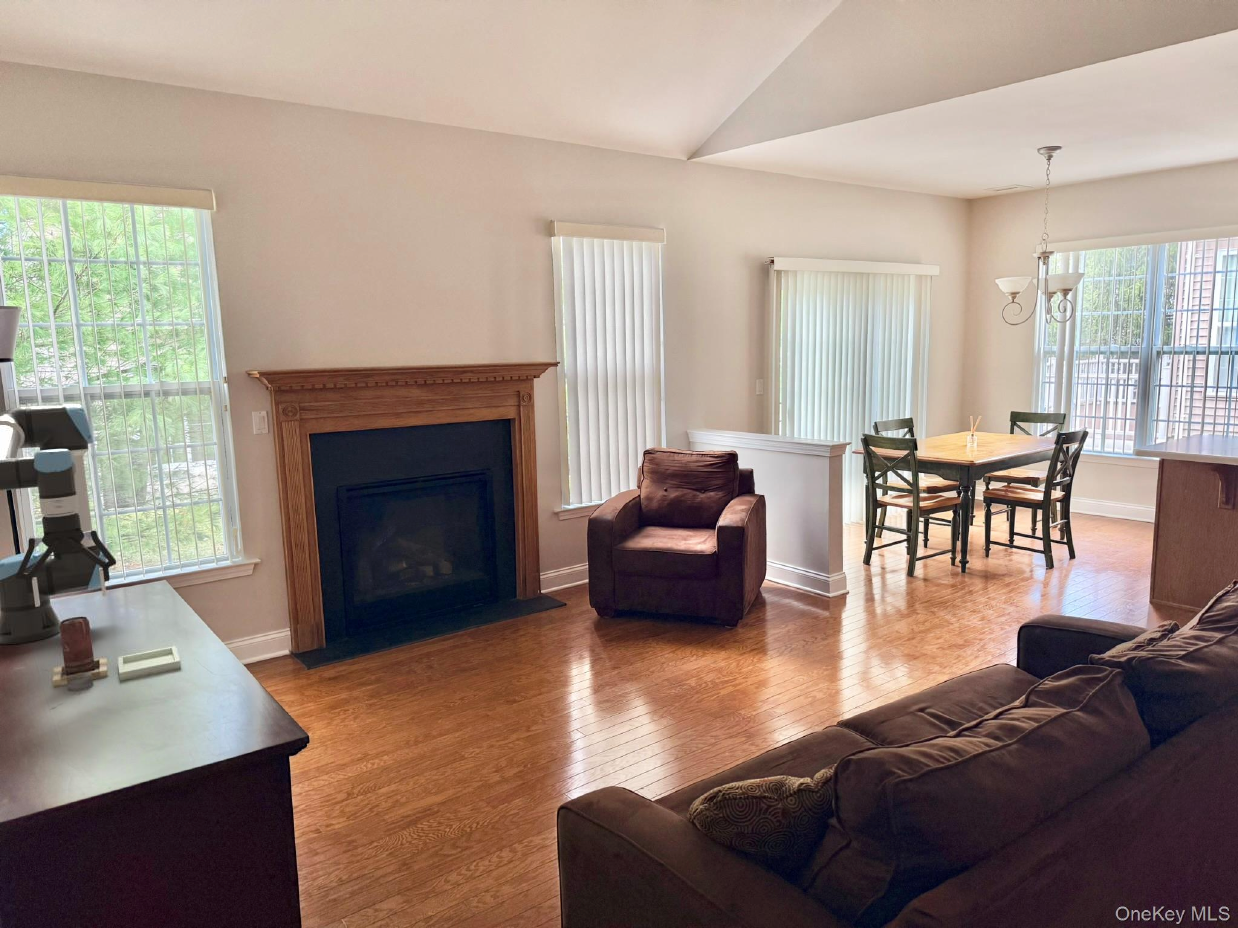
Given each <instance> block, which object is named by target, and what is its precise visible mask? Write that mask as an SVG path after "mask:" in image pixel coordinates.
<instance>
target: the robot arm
mask: <svg viewBox="0 0 1238 928" xmlns="http://www.w3.org/2000/svg"><path fill="white" fill-rule="evenodd" d="M92 443H94V439H93V434H92V431H91V427H90V423H89V420H88V416H87V413H86V411H85V408H84V407H83V405H82V404H77V403H62V404H60V403H59V404H47V405H46V404H45V405H34V406H33V405H32V406H31V405H30V406H28V405H27V406H26V405H25V406H16V407H12V408H9V409H7V410H4V411H2V412H0V492H2V491H10V490H20V489H29V488H37V489H38V497H39V498H38V500H39V506H40V507H39V508H40V513H41V515H42V518H41V522H42V524H41V525H42V530H43V537H34V536H30V537H29V538H28V546H27V547H28V548H27V550H26V552H22V553H19V554H15V555H12V556H9V557H6V558H4V559H2V560H0V644H2V645H16V644H23V643H24V644H25V643H30V642H36V641H39V640H43V639H47V638H49V637H52V636H55V635H57V634H58V633H59V634H60V628H59V626H60V624H61V620H60V618H59V617H58V616H57V613H56V612H55V609H54V608H53V606H52V604H51V603H52V602H51V596H53V597H54V596H59V595H60V596H61V595H64V594H71V593H77V592H78V593H79V592H85V591H86V592H89V591H91V590H96V589H100V588H101V592H102V593H101V594H102V595H101V596H102V597H105V596H107V590H106V582H109V581H110V570H109V569H110V568H111V567H112V566H115V565H117V559H116V558H115V557H114V555H112V553H111V552H110V550H109V549H108V548H107V547H106V545H105V543H104V542H102V540H101V539H100V538H99V536H98V532H97V529H96V528H93V525H92V518H91V517H92V516H91V510H90V509H91V508H90V501H89V493H88V486H87V485H88V484H87V477H86V469H85V468H86V467H85V462H84V461H85V460H84V455H85V454H86V453H87V452H88V451H89V445H91V444H92ZM29 448H31V449H32V448H39V450H38V451H36V452H35V453H34V454H33V456H27V457H18V452H19V449H29ZM41 543H43V545H45V546H46V547H47V549H46V550H45V551H42V550H35V548H37V547H38V546H39V545H40V544H41Z"/></svg>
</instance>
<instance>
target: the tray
mask: <svg viewBox="0 0 1238 928" xmlns="http://www.w3.org/2000/svg"><path fill="white" fill-rule="evenodd" d="M117 662H118V675H119V681H125V680H132V679H137V678H141V677H145V676H151V675H155V674H159V673H165V672H170V671H175V670H180V669H182V668H181V660H180V656H179V653H178V649H177V646H176V645H174V646H170V647H163V648H158V649H153V650H148V651H143V652H142V651H141V652H138V653H133V654H128V655H122V656H117Z"/></svg>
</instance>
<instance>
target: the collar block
mask: <svg viewBox="0 0 1238 928" xmlns="http://www.w3.org/2000/svg"><path fill="white" fill-rule="evenodd" d="M94 663H95V668H96V667H98V668H99V669H95V671H90V672H85V673H77V674H74V675H69V676H66V675H63V674H66V673H65V666H64V664H63V665H57V666H54V668H53V677H52V682H53V683H52V684H53V688H56V687H60V686H65V685H67V689H68V691H70V692H79V691H84V690H88V689H90V688H92V687H93V686H94V681H93V680H96V679H100V678H105V677H109V675H108V671H109V669H108V659H107V656H105V657H104V656H103V657H98V658H94Z"/></svg>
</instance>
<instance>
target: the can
mask: <svg viewBox="0 0 1238 928" xmlns="http://www.w3.org/2000/svg"><path fill="white" fill-rule="evenodd" d="M60 622H61V624H60V626H59V628H60V632H59V634H60V642H61V649H62V656H63V665H64V666H65V673H64V674H65V676H69V675H74V674H77V673H85V672H90V671H95V670H96V667H95V663H94V659H95V656H94V651H93V649H94V648H93V642H92V633H91V626H90V620H89V619H88V617H87V616H75V617H69V618H65V619H63V620H60Z"/></svg>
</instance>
